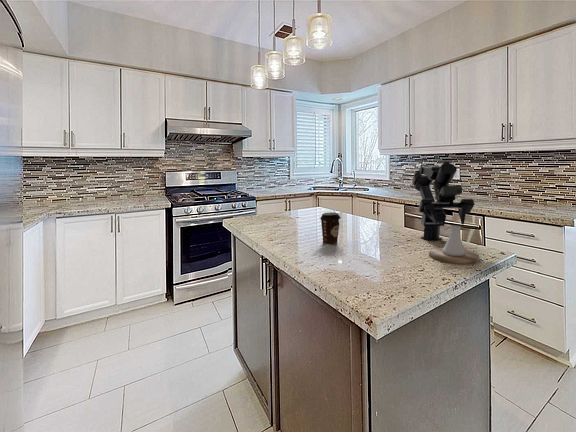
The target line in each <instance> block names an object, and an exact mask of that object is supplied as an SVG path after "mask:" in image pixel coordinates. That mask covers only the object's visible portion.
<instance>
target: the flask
mask: <svg viewBox="0 0 576 432" xmlns="http://www.w3.org/2000/svg"><path fill="white" fill-rule="evenodd" d="M449 227H450V233H449V236H448V239H447V241H446V243H445V245H444V246H443V247H442V248H443V250H442V252H443V253H444V254H447V255H451V256H463V255H466V253H465V250H466V249H465V248H464V245H463V241H462V239H461V233H460V230H461V229H462V227H461V226H459V225H450V226H449Z"/></svg>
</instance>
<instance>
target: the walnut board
mask: <svg viewBox="0 0 576 432" xmlns="http://www.w3.org/2000/svg"><path fill="white" fill-rule="evenodd" d="M443 248H444V247H435V248H433V249H432V248H431V249H430V250H429V251H428V256H429V257H430V258H431V259H433V260H435V261H438V262H443V263H447V264H456V265H471V264H477V263H479V262H480V258H481V257H480V255H479V254H478V253H476V252H475V251H471V250H466V249H464V250H465V253H466V255H463V256H451V255H447V254H444V253H443V252H442V250H443Z"/></svg>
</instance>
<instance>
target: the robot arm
mask: <svg viewBox="0 0 576 432" xmlns="http://www.w3.org/2000/svg"><path fill="white" fill-rule="evenodd" d="M457 170H458V169H457V167H456V166H455V165H454V164H453V163H450V161H443V162H442V164H441V165H439V166H432V165H422V166H420V167H419V170H417V171H416V172H415V173H414V174H413V177H412V181H411V182H412V184H411V185H413V187H414V189H415V190H416V191H418V192H419V193H420V197H421V200H420V202H419V204H418V212H419V213H422V215H421V217H420V224H421V225H422V226H423V228H424V229H423V235H422V236H421V237H420V239H424V240H428V241H434V242H435V241H439V240H443V237H442V236H441V237H440V232H441V227H444V226H445V224H446V219H447V215H446V212H445V210H444V209H458V216H459V220H460V223H461V225H463V226H464V224H465V220H466V216H467V214H468V213H471V212H472V209H473V208H474V207H475V199H473V198H461V199H460V202H454V201H456V196H458V195H461V194H462V193H463V186H462V185H461V184H456V185H450V184H451V183H452V181H453V179H454V177H455V175H456V173H457ZM431 185H433V187H432V190H433V191H434V195H433V193H432V192H433V191H432V190H431Z"/></svg>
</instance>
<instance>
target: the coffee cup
mask: <svg viewBox="0 0 576 432" xmlns="http://www.w3.org/2000/svg"><path fill="white" fill-rule="evenodd" d="M319 219H320V223H321V231H322V234H321V236H322V244H323V245H329V246H331V245H336V244H338V240H339V239H338V238H339V231H340V220H341V216H340V214H339V212H322V213H321V216H320V218H319Z"/></svg>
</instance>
